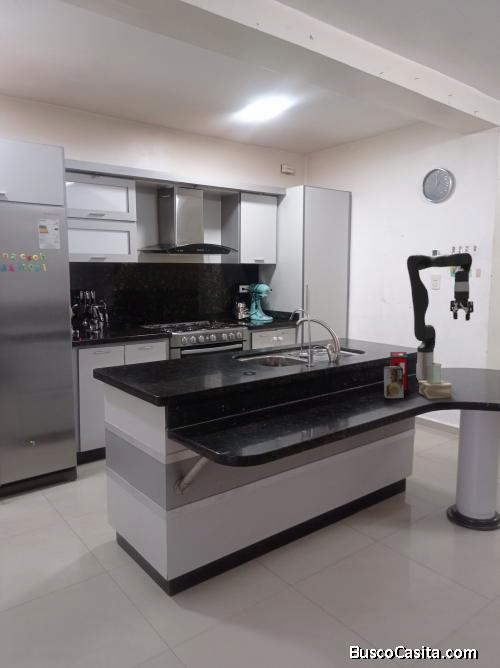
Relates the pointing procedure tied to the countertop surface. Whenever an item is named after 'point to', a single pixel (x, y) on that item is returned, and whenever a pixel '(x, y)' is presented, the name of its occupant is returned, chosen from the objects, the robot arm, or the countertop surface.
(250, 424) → the countertop surface
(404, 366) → the cleaning product box
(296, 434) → the countertop surface
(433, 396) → the birch block
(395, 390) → the coffee box
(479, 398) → the countertop surface
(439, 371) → the tea tin
